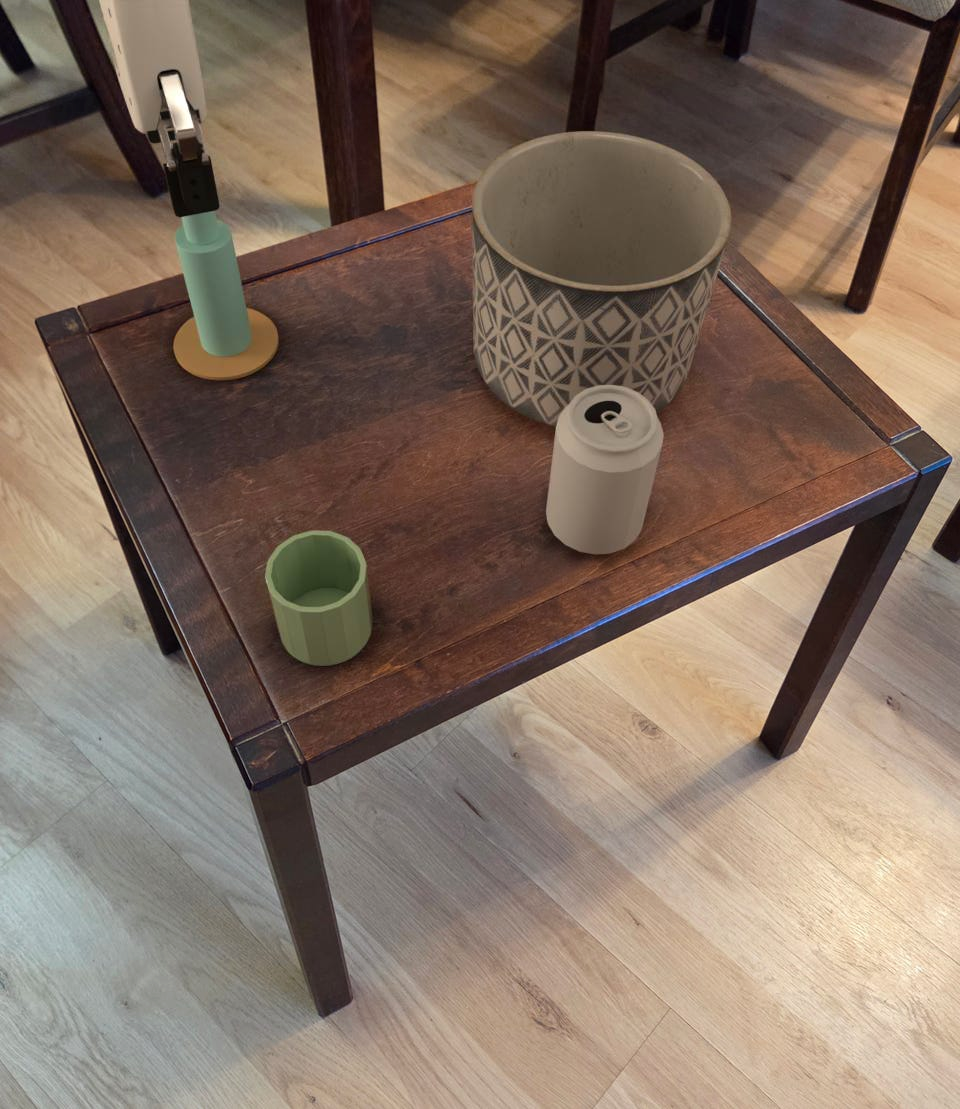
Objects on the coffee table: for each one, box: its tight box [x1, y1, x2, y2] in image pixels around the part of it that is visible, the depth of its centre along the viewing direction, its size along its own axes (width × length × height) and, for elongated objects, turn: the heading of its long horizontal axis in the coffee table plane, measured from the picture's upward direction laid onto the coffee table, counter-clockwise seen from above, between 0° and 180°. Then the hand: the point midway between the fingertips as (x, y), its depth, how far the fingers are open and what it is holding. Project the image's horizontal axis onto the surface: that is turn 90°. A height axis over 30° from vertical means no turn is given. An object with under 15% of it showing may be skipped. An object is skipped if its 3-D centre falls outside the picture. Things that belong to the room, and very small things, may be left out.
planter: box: [471, 130, 732, 428], centre depth 85 cm, size 19×19×16 cm
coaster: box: [173, 307, 280, 381], centre depth 92 cm, size 9×9×1 cm
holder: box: [264, 529, 373, 667], centre depth 73 cm, size 7×7×7 cm
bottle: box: [174, 211, 252, 357], centre depth 85 cm, size 4×4×17 cm
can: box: [545, 385, 665, 555], centre depth 77 cm, size 8×8×12 cm
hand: (183, 174), depth 78 cm, fingers open, 9 cm apart
